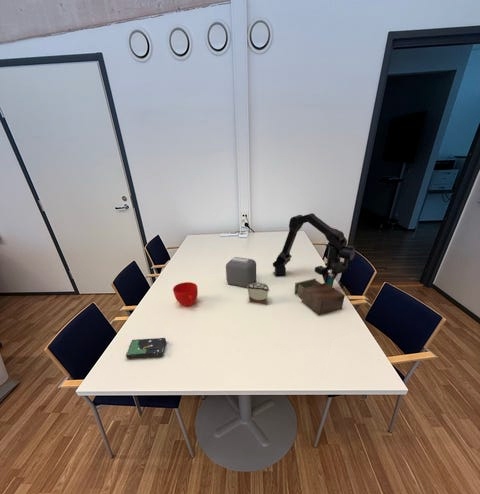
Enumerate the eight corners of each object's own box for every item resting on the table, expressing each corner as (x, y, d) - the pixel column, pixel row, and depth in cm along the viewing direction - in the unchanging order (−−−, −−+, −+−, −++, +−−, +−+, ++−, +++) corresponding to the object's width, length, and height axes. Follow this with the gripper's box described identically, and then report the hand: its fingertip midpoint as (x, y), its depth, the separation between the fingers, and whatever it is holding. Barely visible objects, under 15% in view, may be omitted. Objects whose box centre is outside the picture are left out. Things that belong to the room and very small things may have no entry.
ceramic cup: (182, 315, 138) (179, 298, 132) (173, 301, 150) (170, 285, 145) (205, 308, 142) (203, 292, 137) (194, 295, 155) (192, 280, 149)
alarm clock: (256, 281, 168) (256, 258, 159) (249, 289, 159) (248, 264, 151) (233, 277, 174) (232, 254, 165) (225, 284, 165) (223, 261, 156)
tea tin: (325, 291, 153) (328, 275, 147) (321, 287, 157) (324, 272, 151) (333, 291, 153) (336, 275, 147) (330, 287, 157) (332, 271, 151)
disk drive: (166, 342, 120) (133, 344, 119) (165, 337, 118) (131, 339, 117) (162, 357, 111) (126, 359, 110) (161, 352, 110) (125, 354, 109)
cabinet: (301, 301, 145) (303, 288, 140) (323, 296, 149) (325, 282, 145) (318, 315, 133) (321, 301, 128) (341, 309, 137) (344, 294, 133)
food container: (271, 299, 148) (271, 283, 142) (268, 305, 143) (269, 288, 138) (250, 296, 152) (250, 281, 146) (247, 302, 147) (246, 285, 141)
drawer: (290, 290, 154) (291, 280, 151) (309, 286, 158) (310, 275, 155) (308, 305, 140) (310, 294, 136) (329, 299, 144) (331, 288, 140)
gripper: (328, 263, 134) (324, 291, 143) (357, 257, 140) (351, 284, 149) (315, 256, 143) (312, 282, 152) (343, 251, 149) (338, 276, 157)
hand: (328, 281), depth 152 cm, fingers closed on tea tin, 5 cm apart
